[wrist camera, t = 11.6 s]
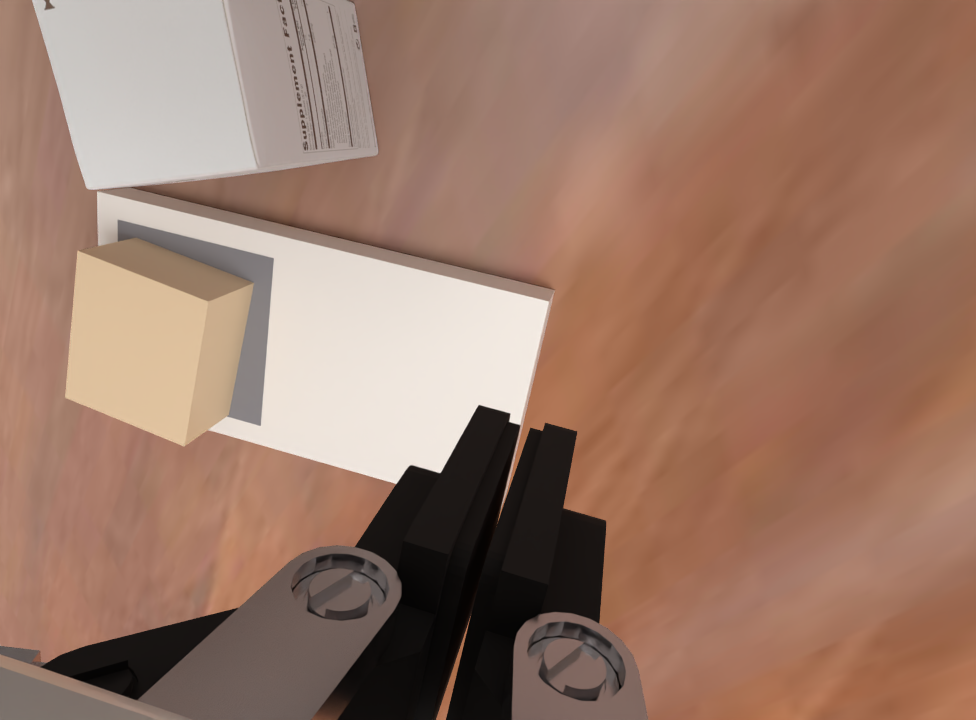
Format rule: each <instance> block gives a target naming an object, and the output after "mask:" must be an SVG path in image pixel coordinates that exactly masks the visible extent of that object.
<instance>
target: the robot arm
mask: <svg viewBox="0 0 976 720" xmlns="http://www.w3.org/2000/svg"><path fill="white" fill-rule="evenodd" d="M509 420H510V413H507V412H504V411H500V410H496V409H493V408H489V407H485V406H482V405H478V407H477V408H476V410H475V412H474V414H473V416H472V417H471V419H470V421H469V423H468V425H467V426H466V428H465V430H464V432H463V434H462V435H461V437H460V439H459V441H458V443H457V444H456V446H455V448H454V450H453V452H452V453H451V455H450V457H449V459H448V461H447V462H446V464H445V466H444V468H443V470H442V471H441V473H438V472H435V471H431V470H428V469H424V468H421V467H417V466H414V465H410V466H409V467H408V468H407V469H406V470H405V472H404V474H403V475H402V477H401V478H400V480H399V481H398V483H397V484H396V486H395V487H394V489H393V490H392V492H391V493H390V495H389V496H388V498H387V499H386V501H385V502H384V504H383V505H382V507H381V508H380V510H379V511H378V513H377V514H376V516H375V517H374V519H373V520H372V522H371V523H370V525H369V526H368V528H367V529H366V531H365V532H364V534H363V535H362V537H361V538H360V540H359V541H358V543H357V545H356V546H355V547H349V546H338V545H336V546H327V547H319V548H316V549H313V550H310V551H307V552H304V553H302V554H300V555H299V556H297V557H296V558H294V559H293V560H291V561H290V562H289V563H288V564H286V565H285V566H284V567H283V568H282V569H281V570H280V571H279V572H278V573H277V574H275V575H274V576H273V577H272V578H271V579H270V580H269V581H268V582H267V583H266V584H264V585H263V586H262V587H261V588H260V589H259V590H258V591H257V592H256V593H255V594H253V595H252V596H251V597H250V598H249V599H248V600H247V601H246V602H245V603H244V604H242V605H241V606H240V607H239V608H236V609H232V610H228V611H224V612H220V613H216V614H212V615H208V616H204V617H200V618H196V619H192V620H188V621H184V622H180V623H176V624H172V625H168V626H164V627H160V628H156V629H152V630H148V631H144V632H140V633H136V634H132V635H128V636H124V637H120V638H116V639H112V640H108V641H104V642H100V643H96V644H92V645H88V646H85V647H82V648H79V649H76V650H73V651H70V652H68V653H65V654H62V655H60V656H58V657H56V658H55V659H53V660H51V661H50V662H48V663H44V662H41V657H40V651H39V650H31V649H22V648H13V647H5V646H0V720H436V717H437V714H438V711H439V708H440V705H441V703H442V700H443V697H444V694H445V691H446V688H447V685H448V682H449V679H450V676H451V673H452V670H453V667H454V664H455V661H456V658H457V655H458V652H459V649H460V646H461V643H462V640H463V637H464V634H465V631H466V628H467V625H468V622H469V619H470V622H469V626H468V630H467V634H466V638H465V643H464V647H463V651H462V655H461V659H460V664H459V668H458V672H457V676H456V680H455V684H454V689H453V693H452V697H451V701H450V705H449V709H448V714H447V718H446V720H648V716H647V711H646V706H645V701H644V695H643V690H642V685H641V680H640V675H639V670H638V668H637V665H636V662H635V660H634V657H633V655H632V653H631V652H630V651H629V649H628V648H627V647H626V645H625V644H624V643H623V641H622V640H621V639H619V638H618V637H617V636H616V635H615V634H614V633H612V632H611V631H610V630H609V629H608V628H606V627H604V626H602V625H600V624H599V620H600V606H601V592H602V578H603V564H604V550H605V536H606V521H605V520H602V519H598V518H595V517H591V516H588V515H585V514H581V513H578V512H574V511H571V510H567V509H564V508H563V505H564V500H565V495H566V489H567V484H568V479H569V473H570V468H571V462H572V457H573V452H574V446H575V441H576V436H577V431H573V430H570V429H566V428H562V427H559V426H555V425H551V424H548V423H545V426H544V429H543V431H540V430H537V429H533V428H530V431H529V434H528V436H527V439H526V442H525V445H524V448H523V451H522V454H521V457H520V460H519V463H518V466H517V468H516V471H515V474H514V477H513V480H512V483H511V486H510V489H509V492H508V495H507V498H506V500H505V503H504V506H503V509H502V512H501V515H500V518H499V514H500V510H501V505H502V501H503V497H504V493H505V489H506V485H507V481H508V477H509V472H510V468H511V464H512V460H513V456H514V452H515V448H516V444H517V439H518V435H519V431H520V425H518V424H515V423H511V422H509ZM498 518H499V521H498ZM497 522H498V524H497ZM496 526H497V527H496ZM470 616H471V618H470Z"/></svg>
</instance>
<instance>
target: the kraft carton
mask: <svg viewBox="0 0 976 720" xmlns="http://www.w3.org/2000/svg"><path fill="white" fill-rule="evenodd" d="M253 286H254V283H253V282H250V281H248V280H245V279H243V278H240V277H237V276H235V275H232V274H230V273H227V272H224V271H222V270H219V269H217V268H214V267H211V266H209V265H206V264H204V263H201V262H198V261H196V260H193V259H191V258H188V257H185V256H183V255H180V254H178V253H175V252H172V251H170V250H167V249H165V248H162V247H159V246H157V245H154V244H152V243H149V242H146V241H144V240H141V239H139V238H132V239H128V240H123V241H119V242H114V243H110V244H105V245H101V246H96V247H92V248H87V249H83V250H79V251H78V253H77V265H76V276H75V288H74V300H73V312H72V324H71V335H70V347H69V359H68V371H67V382H66V394H65V398H67V399H70V400H72V401H75V402H77V403H80V404H82V405H84V406H87V407H89V408H92V409H94V410H97V411H99V412H102V413H104V414H106V415H109V416H111V417H114V418H116V419H119V420H121V421H123V422H126V423H128V424H131V425H133V426H136V427H138V428H141V429H143V430H145V431H148V432H150V433H153V434H155V435H158V436H160V437H162V438H165V439H167V440H170V441H172V442H175V443H177V444H180V445H182V446H186V445H187V444H189V443H190V442H191V441H193V440H194V439H196V438H197V437H198V436H200V435H201V434H203V433H204V432H206V431H207V430H208V429H210V428H211V427H213V426H214V425H215V424H217V423H218V422H220V421H221V420H222V419H224V418H225V417H227V416H228V415H229V411H230V406H231V401H232V396H233V391H234V385H235V380H236V375H237V370H238V364H239V359H240V354H241V349H242V344H243V338H244V333H245V328H246V323H247V318H248V312H249V307H250V302H251V297H252V292H253Z"/></svg>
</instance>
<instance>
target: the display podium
mask: <svg viewBox="0 0 976 720" xmlns="http://www.w3.org/2000/svg"><path fill="white" fill-rule="evenodd" d="M97 213H98V246H101V245H105V244H110V243H114V242H119V241H123V240H128V239H132V238H139V239H141V240H144V241H146V242H149V243H152V244H154V245H157V246H159V247H162V248H165V249H167V250H170V251H172V252H175V253H178V254H180V255H183V256H185V257H188V258H191V259H193V260H196V261H198V262H201V263H204V264H206V265H209V266H211V267H214V268H217V269H219V270H222V271H224V272H227V273H230V274H232V275H235V276H237V277H240V278H243V279H245V280H248V281H250V282H253V283H254V286H253V292H252V297H251V302H250V307H249V312H248V318H247V323H246V328H245V333H244V338H243V344H242V349H241V354H240V359H239V364H238V370H237V375H236V380H235V385H234V391H233V396H232V401H231V406H230V411H229V415H228V416H227V417H225V418H224V419H222V420H221V421H220V422H218V423H217V424H215V425H214V426H213V427H211V428H210V429H208V430H210V431H214V432H217V433H221V434H224V435H228V436H231V437H235V438H238V439H242V440H245V441H249V442H252V443H256V444H259V445H263V446H266V447H270V448H273V449H277V450H280V451H284V452H287V453H291V454H294V455H298V456H301V457H305V458H308V459H312V460H315V461H319V462H322V463H326V464H329V465H333V466H336V467H340V468H343V469H347V470H350V471H354V472H357V473H360V474H364V475H367V476H371V477H374V478H378V479H381V480H385V481H388V482H392V483H395V484H397V483H398V481H399V480H400V478H401V477H402V475H403V474H404V472H405V470H406V469H407V468H408V467H409V466H410V465H414V466H417V467H421V468H424V469H428V470H431V471H435V472H438V473H441V471H442V470H443V468H444V466H445V464H446V462H447V461H448V459H449V457H450V455H451V453H452V452H453V450H454V448H455V446H456V444H457V443H458V441H459V439H460V437H461V435H462V434H463V432H464V430H465V428H466V426H467V425H468V423H469V421H470V419H471V417H472V416H473V414H474V412H475V410H476V408H477V407H478V405H482V406H485V407H489V408H493V409H496V410H500V411H504V412H507V413H510V420H509V422H511V423H515V424H518V425H520V431H519V435H518V439H517V444H516V448H515V452H514V456H513V460H512V464H511V468H510V472H509V477H508V481H507V485H506V489H505V493H504V497H503V501H502V505H503V502H504V499H505V496H506V493H507V490H508V486H509V482H510V477H511V473H512V469H513V465H514V461H515V456H516V452H517V448H518V444H519V439H520V435H521V431H522V427H523V422H524V418H525V414H526V410H527V406H528V401H529V397H530V393H531V389H532V384H533V380H534V376H535V372H536V367H537V363H538V359H539V355H540V351H541V346H542V342H543V338H544V334H545V329H546V325H547V321H548V317H549V312H550V308H551V304H552V300H553V296H554V291H555V290H552V289H548V288H544V287H540V286H536V285H531V284H527V283H523V282H519V281H515V280H511V279H507V278H502V277H498V276H494V275H490V274H486V273H482V272H478V271H473V270H469V269H465V268H461V267H457V266H453V265H449V264H444V263H440V262H436V261H432V260H428V259H424V258H420V257H415V256H411V255H407V254H403V253H399V252H395V251H391V250H386V249H382V248H378V247H374V246H370V245H366V244H362V243H357V242H353V241H349V240H345V239H341V238H337V237H333V236H328V235H324V234H320V233H316V232H312V231H308V230H304V229H299V228H295V227H291V226H287V225H283V224H279V223H274V222H270V221H266V220H262V219H258V218H254V217H250V216H245V215H241V214H237V213H233V212H229V211H225V210H221V209H216V208H212V207H208V206H204V205H200V204H196V203H192V202H187V201H183V200H179V199H175V198H171V197H167V196H163V195H158V194H154V193H150V192H146V191H142V190H138V189H134V188H121V189H113V190H104V191H97ZM502 505H501V507H502Z"/></svg>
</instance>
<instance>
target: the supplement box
mask: <svg viewBox="0 0 976 720" xmlns="http://www.w3.org/2000/svg"><path fill="white" fill-rule="evenodd" d="M32 2H33V5H34V9H35V12H36V15H37V18H38V22H39V25H40V28H41V32H42V35H43V38H44V42H45V45H46V49H47V52H48V56H49V59H50V62H51V66H52V69H53V73H54V76H55V80H56V83H57V87H58V90H59V94H60V97H61V101H62V105H63V109H64V113H65V116H66V120H67V124H68V128H69V131H70V135H71V139H72V143H73V147H74V150H75V154H76V157H77V160H78V163H79V166H80V170H81V173H82V176H83V179H84V182H85V185H86V187H87V189H89V190H98V189H110V188H122V187H135V186H148V185H158V184H169V183H178V182H188V181H198V180H206V179H215V178H223V177H232V176H241V175H249V174H255V173H263V172H271V171H278V170H285V169H291V168H298V167H305V166H311V165H317V164H324V163H330V162H336V161H343V160H349V159H356V158H363V157H371V156H376V155H377V154H378V145H377V138H376V132H375V126H374V120H373V114H372V107H371V101H370V95H369V89H368V83H367V77H366V71H365V65H364V59H363V53H362V47H361V40H360V34H359V28H358V21H357V15H356V10H355V5H354V3H352V2H350V1H348V0H32Z"/></svg>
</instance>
